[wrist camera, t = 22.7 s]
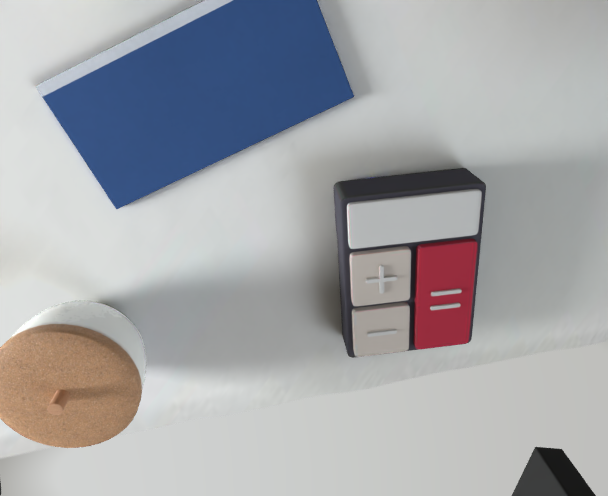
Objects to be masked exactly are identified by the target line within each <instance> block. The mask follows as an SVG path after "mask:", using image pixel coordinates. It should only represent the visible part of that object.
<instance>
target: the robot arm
mask: <svg viewBox="0 0 608 496" xmlns="http://www.w3.org/2000/svg"><path fill="white" fill-rule="evenodd" d="M0 495H1V483H0ZM512 496H595V494H594V493H593V492H592V490H591V489H590V487H589V486H588V485H587V483H586V482H585V480H584V479H583V478H582V476H581V475H580V473H579V472H578V471H577V469H576V468H575V467H574V465H573V464H572V462H571V461H570V460H569V458H568V457H567V456H566V455H565V453H564V451H563V450H562V449H554V448H541V447H535V449H534V451H533V453H532V455H531V457H530V459H529V461H528V463H527V465H526V468H525V469H524V472H523V474H522V476H521V478H520V480H519V482H518V484H517V486H516V488H515V490H514V492H513V494H512Z"/></svg>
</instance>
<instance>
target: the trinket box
mask: <svg viewBox="0 0 608 496" xmlns="http://www.w3.org/2000/svg"><path fill="white" fill-rule="evenodd" d="M145 373H146V351H145V347H144V343H143V340H142V338H141V336H140V333H139V331H138V330H137V329H136V327H135V326H134V324H133V323H132V322H131V321H130V320H129V319H128V318H127V317H126V316H125V315H123V314H122V313H121V312H119V311H118V310H116V309H114V308H112V307H110V306H107V305H105V304H101V303H98V302H92V301H71V302H65V303H61V304H58V305H55V306H52V307H50V308H48V309H45V310H43V311H42V312H40V313H39V314H37V315H36V316H34V317H32V318H31V319H30V320H28V321H27V322H26V323H25V324H24V325H23V326H21V327H20V328H19V329H18V330H17V331H16V332H15V333H14V335H13V336H12V337H11V338H10V339H9V340H8V341H7V342H6V343H5V344H4V345H3V346H2V347H0V418H1V420H2V421H3V422H4V423H5V424H6V425H8V426H9V427H10V428H12V429H13V430H14V431H16V432H17V433H19V434H21V435H22V436H24V437H26V438H28V439H31V440H33V441H36V442H39V443H42V444H45V445H50V446H55V447H64V448H76V447H77V448H78V447H86V446H91V445H95V444H99V443H101V442H104V441H106V440H109V439H111V438H112V437H114V436H116V435H117V434H119V433H120V432H121V431H123V430H124V429H125V428H126V427H127V426H128V425H129V424H130V422H131V421H132V420H133V418H134V416H135V414H136V412H137V409H138V406H139V403H140V400H141V394H142V389H143V385H144V381H145Z"/></svg>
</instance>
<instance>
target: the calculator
mask: <svg viewBox="0 0 608 496" xmlns="http://www.w3.org/2000/svg"><path fill="white" fill-rule="evenodd" d="M485 191H486V185H485V183H484V182H482V181H481V180H480V179H479V178H477V177H476V176H475V175H474V174H472V173H471V172H470V171H468V170H467V169H465V168H462V169H452V170H443V171H434V172H424V173H415V174H406V175H396V176H387V177H378V178H368V179H359V180H350V181H341V182H337V183H336V184H335V185H334V201H335V219H336V231H337V239H338V258H339V277H340V295H341V314H342V333H343V338H344V342H345V346H346V350H347V353H348V356H350V357H362V356H371V355H379V354H387V353H395V352H403V351H409V350H417V349H427V348H435V347H443V346H451V345H459V344H466V343H469V342H470V341H471V337H472V327H473V317H474V306H475V296H476V285H477V275H478V265H479V254H480V244H481V233H482V223H483V212H484V202H485Z"/></svg>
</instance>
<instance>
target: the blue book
mask: <svg viewBox="0 0 608 496" xmlns="http://www.w3.org/2000/svg"><path fill="white" fill-rule="evenodd" d="M36 88H37V89H38V91H39V92H40V94H41V96H42V97H43V98H44V100H45V101H46V103H47V104H48V106H49V107H50V109H51V110H52V112H53V113H54V115H55V116H56V118H57V120H58V121H59V123H60V124H61V126H62V127H63V129H64V130H65V132H66V133H67V135H68V136H69V138H70V139H71V141H72V142H73V144H74V145H75V147H76V148H77V150H78V151H79V153H80V154H81V156H82V157H83V159H84V160H85V162H86V164H87V165H88V167H89V168H90V170H91V171H92V173H93V174H94V176H95V177H96V179H97V180H98V182H99V183H100V185H101V186H102V188H103V189H104V191H105V192H106V194H107V195H108V197H109V198H110V200H111V201H112V203H113V204H114V206H115V207H116V209H118V208H120V207H123V206H125V205H127V204H129V203H131V202H133V201H135V200H137V199H139V198H142V197H144V196H146V195H148V194H150V193H152V192H154V191H156V190H158V189H161V188H163V187H165V186H167V185H169V184H171V183H173V182H175V181H177V180H180V179H182V178H184V177H186V176H188V175H190V174H192V173H194V172H196V171H199V170H201V169H203V168H205V167H207V166H209V165H211V164H213V163H215V162H218V161H220V160H222V159H224V158H226V157H228V156H230V155H232V154H234V153H237V152H239V151H241V150H243V149H245V148H247V147H249V146H251V145H253V144H256V143H258V142H260V141H262V140H264V139H266V138H268V137H270V136H272V135H275V134H277V133H279V132H281V131H283V130H285V129H287V128H289V127H291V126H294V125H296V124H298V123H300V122H302V121H304V120H306V119H308V118H310V117H313V116H315V115H317V114H319V113H321V112H323V111H325V110H327V109H329V108H331V107H334V106H336V105H338V104H340V103H342V102H344V101H346V100H348V99H350V98H353V97H354V95H353V92H352V90H351V87H350V85H349V82H348V80H347V77H346V74H345V72H344V69H343V67H342V64H341V62H340V59H339V56H338V54H337V51H336V49H335V46H334V44H333V41H332V38H331V36H330V33H329V31H328V28H327V26H326V23H325V20H324V18H323V15H322V13H321V10H320V8H319V5H318V2H317V0H204V1H202V2H200V3H198V4H196V5H194V6H192V7H190V8H188V9H186V10H184V11H182V12H180V13H178V14H176V15H174V16H172V17H170V18H168V19H166V20H164V21H162V22H160V23H159V24H157V25H155V26H153V27H151V28H149V29H147V30H145V31H143V32H141V33H139V34H137V35H135V36H133V37H131V38H129V39H127V40H125V41H123V42H121V43H119V44H117V45H115V46H113V47H111V48H109V49H107V50H105V51H104V52H102V53H100V54H98V55H96V56H94V57H92V58H90V59H88V60H86V61H84V62H82V63H80V64H78V65H76V66H74V67H72V68H70V69H68V70H66V71H64V72H62V73H60V74H58V75H56V76H54V77H52V78H51V79H49V80H47V81H45V82H43V83H41V84H39V85H37V86H36Z"/></svg>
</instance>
